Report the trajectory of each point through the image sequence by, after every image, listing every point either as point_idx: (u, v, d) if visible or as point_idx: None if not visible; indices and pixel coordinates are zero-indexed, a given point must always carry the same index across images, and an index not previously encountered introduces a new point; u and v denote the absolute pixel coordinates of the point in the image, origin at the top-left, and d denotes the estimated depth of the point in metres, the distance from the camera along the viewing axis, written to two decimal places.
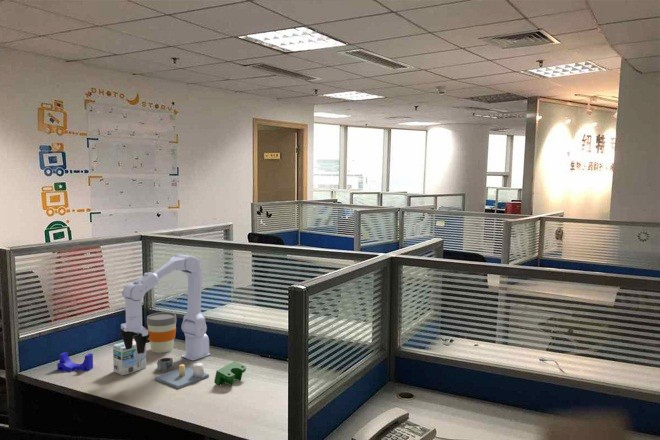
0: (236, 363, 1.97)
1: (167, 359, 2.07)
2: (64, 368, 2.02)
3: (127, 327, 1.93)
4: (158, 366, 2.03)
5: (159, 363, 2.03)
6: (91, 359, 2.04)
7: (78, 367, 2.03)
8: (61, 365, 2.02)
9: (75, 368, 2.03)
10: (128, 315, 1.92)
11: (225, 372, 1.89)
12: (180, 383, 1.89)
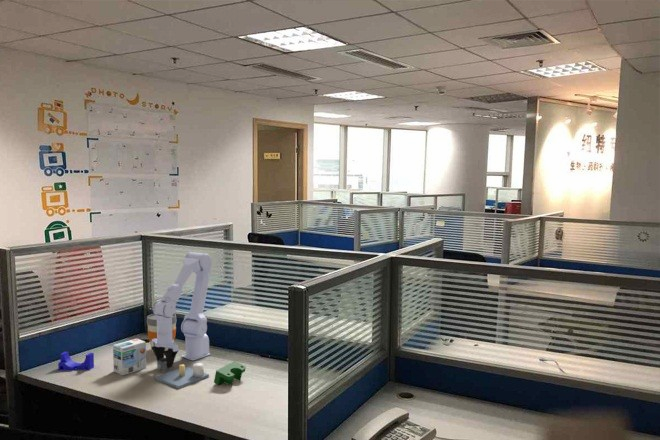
0: (236, 363, 1.97)
1: None
2: (65, 367, 2.03)
3: (158, 343, 2.02)
4: (158, 366, 2.03)
5: (159, 363, 2.03)
6: (92, 358, 2.05)
7: (79, 366, 2.04)
8: (62, 364, 2.03)
9: (76, 367, 2.04)
10: (160, 331, 2.01)
11: (224, 372, 1.89)
12: (180, 383, 1.89)
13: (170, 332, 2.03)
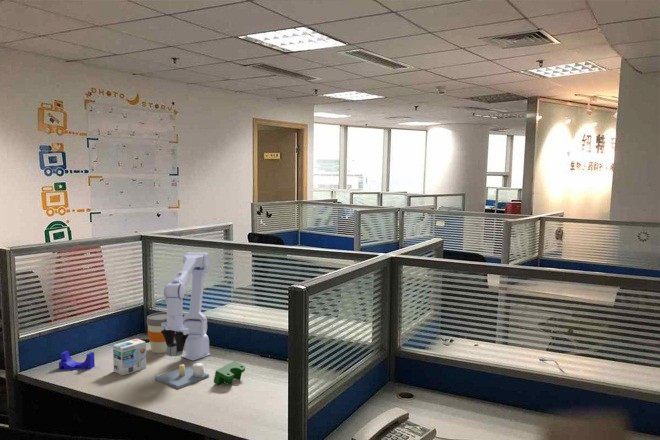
0: (235, 363, 1.97)
1: None
2: (66, 367, 2.03)
3: (168, 326, 1.95)
4: (167, 351, 1.97)
5: (168, 348, 1.96)
6: (92, 357, 2.06)
7: (80, 366, 2.04)
8: (63, 364, 2.03)
9: (77, 367, 2.05)
10: (173, 314, 1.95)
11: (224, 371, 1.90)
12: (180, 383, 1.89)
13: (180, 315, 1.96)
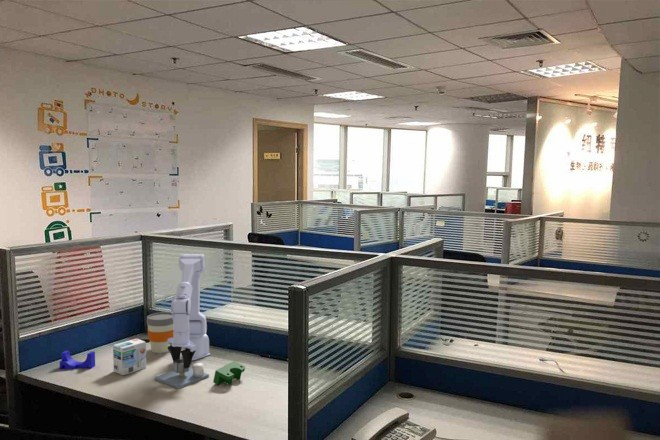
0: (235, 363, 1.97)
1: None
2: (66, 366, 2.04)
3: (175, 342, 1.93)
4: (174, 367, 1.94)
5: (175, 364, 1.93)
6: (93, 356, 2.07)
7: (80, 365, 2.05)
8: (63, 363, 2.04)
9: (77, 366, 2.05)
10: (181, 330, 1.92)
11: (224, 371, 1.90)
12: (180, 383, 1.89)
13: (187, 331, 1.94)
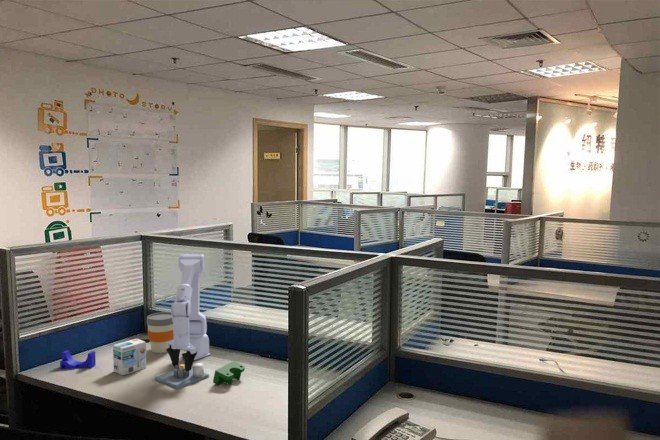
0: (235, 363, 1.97)
1: None
2: (67, 366, 2.04)
3: (175, 345, 1.93)
4: (174, 373, 1.94)
5: (175, 370, 1.93)
6: (94, 356, 2.07)
7: (81, 365, 2.06)
8: (64, 363, 2.04)
9: (78, 366, 2.06)
10: (181, 333, 1.92)
11: (224, 371, 1.90)
12: (180, 383, 1.89)
13: (187, 333, 1.94)
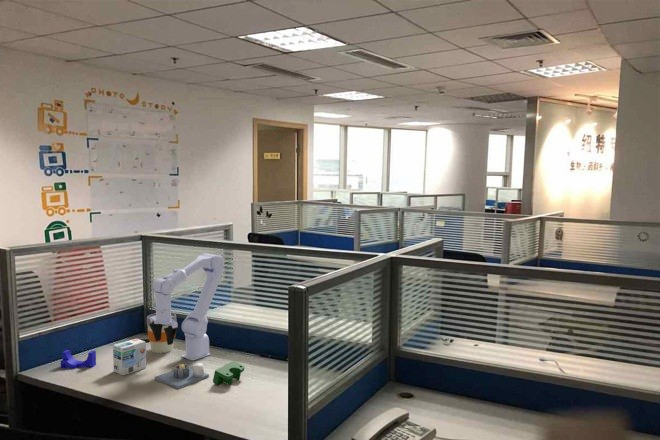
0: (235, 363, 1.98)
1: None
2: (67, 365, 2.05)
3: (157, 320, 2.04)
4: (174, 373, 1.94)
5: (175, 370, 1.93)
6: (94, 355, 2.08)
7: (81, 364, 2.06)
8: (64, 362, 2.05)
9: (78, 365, 2.06)
10: (158, 308, 2.03)
11: (223, 371, 1.90)
12: (180, 383, 1.89)
13: (169, 309, 2.05)
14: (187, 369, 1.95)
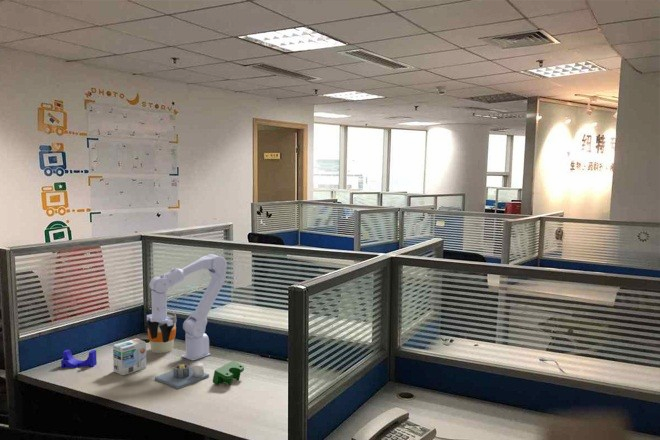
0: (234, 363, 1.98)
1: None
2: (68, 365, 2.05)
3: (153, 318, 2.07)
4: (174, 373, 1.94)
5: (175, 370, 1.93)
6: (95, 355, 2.08)
7: (82, 364, 2.07)
8: (65, 362, 2.05)
9: (79, 365, 2.07)
10: (153, 306, 2.06)
11: (223, 371, 1.90)
12: (180, 383, 1.89)
13: (164, 307, 2.08)
14: (187, 369, 1.95)
